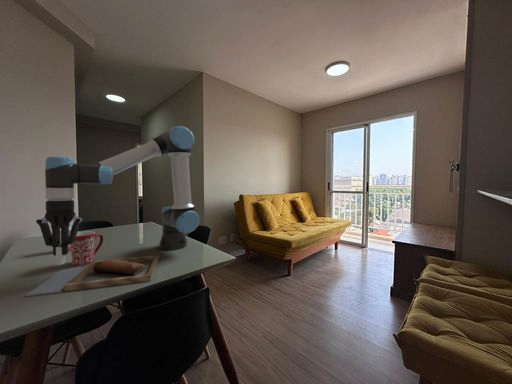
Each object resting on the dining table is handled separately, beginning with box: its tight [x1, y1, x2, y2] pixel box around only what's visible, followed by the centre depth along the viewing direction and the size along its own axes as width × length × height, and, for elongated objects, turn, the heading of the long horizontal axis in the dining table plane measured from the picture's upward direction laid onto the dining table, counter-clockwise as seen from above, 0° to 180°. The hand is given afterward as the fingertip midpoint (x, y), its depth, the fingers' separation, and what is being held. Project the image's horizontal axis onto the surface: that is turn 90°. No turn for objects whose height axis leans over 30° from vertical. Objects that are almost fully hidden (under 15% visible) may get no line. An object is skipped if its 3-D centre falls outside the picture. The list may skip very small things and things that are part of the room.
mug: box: [70, 230, 104, 267], centre depth 94 cm, size 13×9×14 cm
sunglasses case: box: [93, 259, 147, 276], centre depth 84 cm, size 18×7×7 cm
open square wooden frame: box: [63, 254, 160, 293], centre depth 83 cm, size 26×23×2 cm
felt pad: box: [25, 267, 86, 298], centre depth 75 cm, size 9×20×1 cm, turn 18°
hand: (60, 263), depth 75 cm, fingers closed
